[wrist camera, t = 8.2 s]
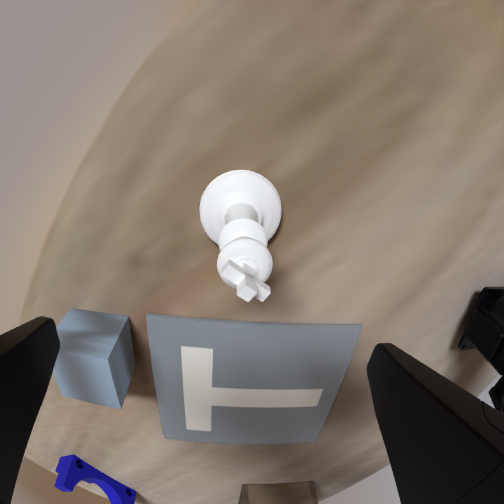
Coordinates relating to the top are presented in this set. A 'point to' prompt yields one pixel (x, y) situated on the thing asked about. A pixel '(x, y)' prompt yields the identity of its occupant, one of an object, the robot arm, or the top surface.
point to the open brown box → (279, 493)
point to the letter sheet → (246, 378)
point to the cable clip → (91, 480)
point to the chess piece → (242, 229)
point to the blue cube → (95, 357)
